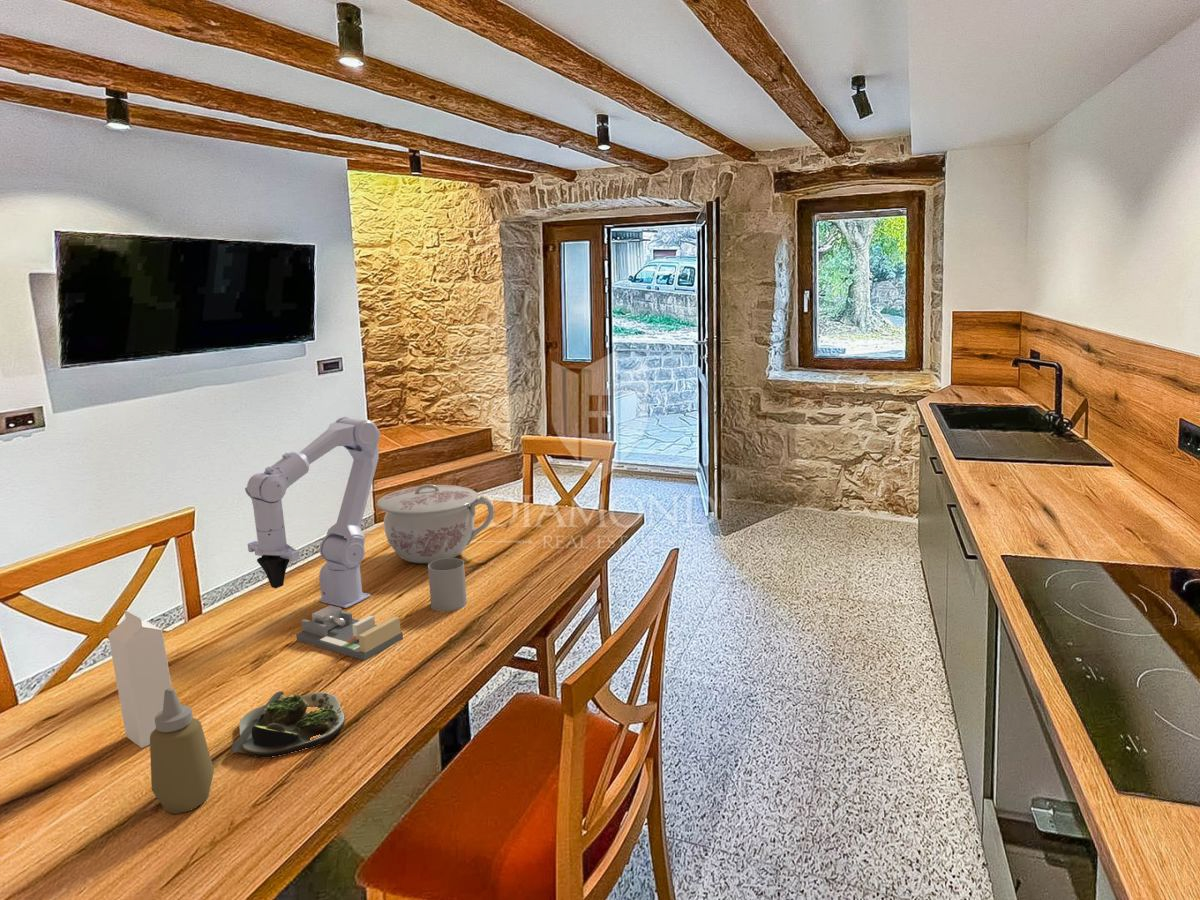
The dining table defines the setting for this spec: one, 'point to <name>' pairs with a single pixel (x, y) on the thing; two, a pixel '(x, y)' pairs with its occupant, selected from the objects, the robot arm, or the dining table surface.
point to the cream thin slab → (362, 627)
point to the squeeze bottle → (179, 757)
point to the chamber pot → (432, 521)
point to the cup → (447, 584)
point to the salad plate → (289, 724)
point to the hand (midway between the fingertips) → (277, 586)
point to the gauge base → (339, 635)
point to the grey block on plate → (329, 617)
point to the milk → (139, 675)
